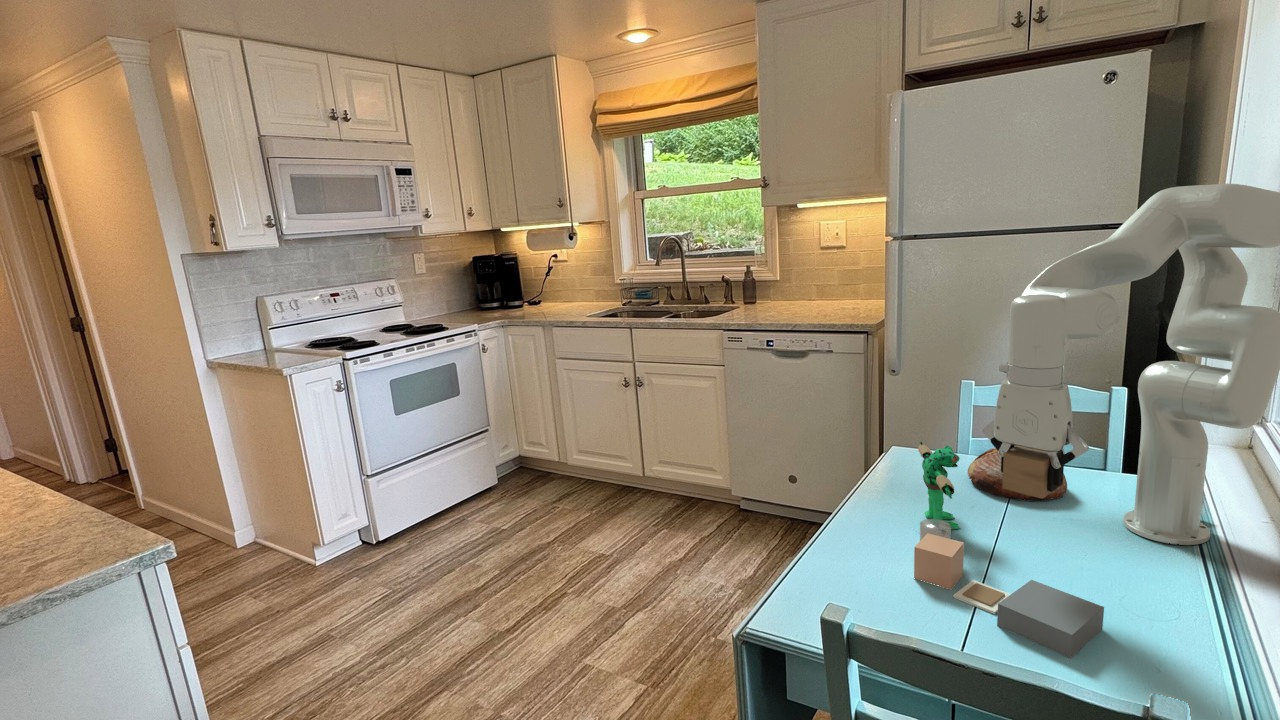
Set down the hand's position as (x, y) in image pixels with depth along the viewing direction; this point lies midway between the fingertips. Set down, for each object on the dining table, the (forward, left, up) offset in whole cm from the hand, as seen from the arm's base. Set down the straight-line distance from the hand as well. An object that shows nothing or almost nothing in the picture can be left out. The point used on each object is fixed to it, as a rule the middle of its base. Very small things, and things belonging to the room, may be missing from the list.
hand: (1030, 482), depth 107 cm
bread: (-36, -17, -17) cm, 44 cm away
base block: (+11, +8, -17) cm, 22 cm away
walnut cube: (0, 0, -1) cm, 1 cm away
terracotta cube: (+9, -10, -17) cm, 22 cm away
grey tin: (+3, -14, -17) cm, 22 cm away
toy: (-10, -20, -17) cm, 28 cm away
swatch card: (+10, -2, -17) cm, 20 cm away
